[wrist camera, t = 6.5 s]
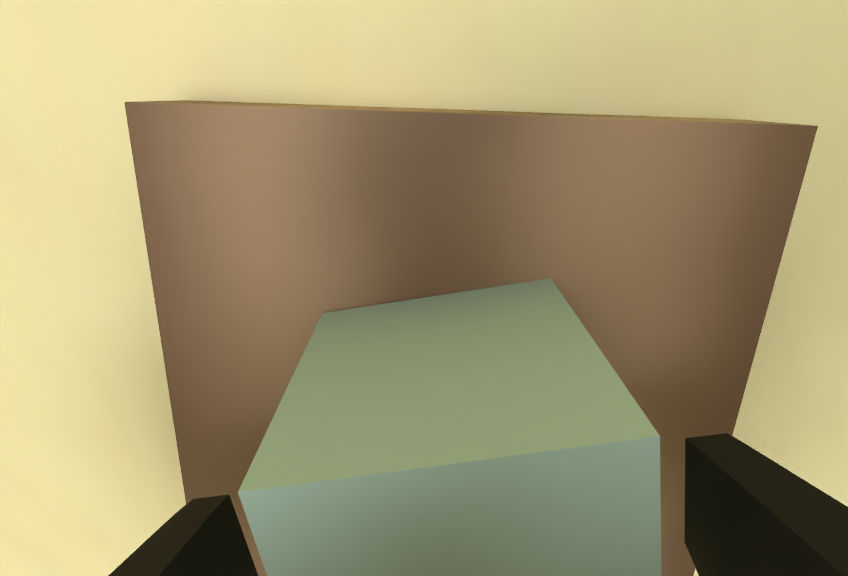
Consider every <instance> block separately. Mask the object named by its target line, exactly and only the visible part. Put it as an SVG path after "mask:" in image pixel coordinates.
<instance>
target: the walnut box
mask: <svg viewBox="0 0 848 576" xmlns="http://www.w3.org/2000/svg"><path fill="white" fill-rule="evenodd" d="M125 109H126V115H127V122H128V128H129V135H130V141H131V148H132V154H133V161H134V167H135V174H136V180H137V187H138V193H139V200H140V206H141V213H142V219H143V226H144V232H145V239H146V245H147V252H148V258H149V265H150V271H151V278H152V284H153V291H154V297H155V304H156V310H157V317H158V323H159V330H160V336H161V343H162V349H163V356H164V362H165V369H166V375H167V382H168V388H169V395H170V401H171V408H172V414H173V421H174V427H175V434H176V440H177V447H178V453H179V460H180V466H181V473H182V479H183V486H184V492H185V499H186V504H188V503H189V502H190V501H191V500H192V499H196V498H204V497H212V496H220V495H228V494H229V495H230V498H231V501H232V504H233V506H234V509H235V512H236V515H237V517H238V520H239V523H240V526H241V529H242V531H243V534H244V537H245V540H246V543H247V545H248V548H249V551H250V554H251V557H252V559H253V562H254V565H255V568H256V571H257V573H258V576H267V574H266V571H265V568H264V565H263V563H262V560H261V557H260V554H259V551H258V548H257V545H256V543H255V540H254V537H253V534H252V531H251V528H250V526H249V523H248V520H247V517H246V514H245V511H244V509H243V506H242V503H241V500H240V497H239V494H238V491H239V489H240V487H241V485H242V482H243V480H244V478H245V476H246V474H247V472H248V470H249V468H250V465H251V463H252V461H253V459H254V457H255V455H256V453H257V451H258V448H259V446H260V444H261V442H262V440H263V438H264V436H265V434H266V431H267V429H268V427H269V425H270V423H271V421H272V419H273V417H274V414H275V412H276V410H277V408H278V406H279V404H280V402H281V400H282V397H283V395H284V393H285V391H286V389H287V387H288V385H289V383H290V380H291V378H292V376H293V374H294V372H295V370H296V368H297V366H298V363H299V361H300V359H301V357H302V355H303V353H304V351H305V349H306V346H307V344H308V342H309V340H310V338H311V336H312V334H313V332H314V329H315V327H316V325H317V323H318V321H319V319H320V317H321V315H322V313H325V312H332V311H339V310H345V309H352V308H358V307H365V306H371V305H378V304H385V303H391V302H398V301H404V300H411V299H418V298H424V297H431V296H437V295H444V294H451V293H457V292H464V291H470V290H477V289H484V288H490V287H497V286H503V285H510V284H516V283H523V282H530V281H536V280H543V279H550V278H551V279H552V281H553V282H554V283H555V285H556V286H557V288H558V289H559V291H560V292H561V294H562V295H563V296H564V298H565V299H566V301H567V302H568V304H569V305H570V307H571V308H572V310H573V311H574V312H575V314H576V315H577V317H578V318H579V320H580V321H581V323H582V324H583V325H584V327H585V328H586V330H587V331H588V333H589V334H590V336H591V337H592V338H593V340H594V341H595V343H596V344H597V346H598V347H599V349H600V350H601V352H602V353H603V354H604V356H605V357H606V359H607V360H608V362H609V363H610V365H611V366H612V367H613V369H614V370H615V372H616V373H617V375H618V376H619V378H620V379H621V380H622V382H623V383H624V385H625V386H626V388H627V389H628V391H629V392H630V394H631V395H632V396H633V398H634V399H635V401H636V402H637V404H638V405H639V407H640V408H641V409H642V411H643V412H644V414H645V415H646V417H647V418H648V420H649V421H650V422H651V424H652V425H653V427H654V428H655V430H656V431H657V433H658V434H659V436H660V489H661V574H662V576H693V575H694V571H695V565H694V563H693V561H692V558H691V556H690V554H689V551H688V549H687V547H686V544H685V542H684V538H685V438H691V437H699V436H707V435H715V434H723V433H727V434H729V435H731V436H732V434H733V430H734V427H735V423H736V419H737V416H738V412H739V409H740V405H741V401H742V398H743V394H744V390H745V387H746V383H747V380H748V376H749V372H750V369H751V365H752V362H753V358H754V354H755V351H756V347H757V344H758V340H759V336H760V333H761V329H762V326H763V322H764V318H765V315H766V311H767V308H768V304H769V300H770V297H771V293H772V289H773V286H774V282H775V279H776V275H777V271H778V268H779V264H780V261H781V257H782V253H783V250H784V246H785V243H786V239H787V235H788V232H789V228H790V225H791V221H792V217H793V214H794V210H795V206H796V203H797V199H798V196H799V192H800V188H801V185H802V181H803V178H804V174H805V170H806V167H807V163H808V160H809V156H810V152H811V149H812V145H813V142H814V138H815V134H816V131H817V127H818V126H811V125H798V124H786V123H774V122H762V121H750V120H734V119H705V118H676V117H647V116H619V115H590V114H561V113H532V112H503V111H474V110H445V109H416V108H388V107H359V106H330V105H301V104H272V103H243V102H214V101H146V102H125Z"/></svg>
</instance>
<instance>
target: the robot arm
mask: <svg viewBox="0 0 848 576" xmlns="http://www.w3.org/2000/svg"><path fill="white" fill-rule="evenodd" d="M684 542H685V544H686V547H687V549H688V551H689V554H690V556H691V558H692V561H693V563H694V565H695V567H696V570H697V572H698V574H699V576H848V507H847V506H845V505H844V504H842V503H840V502H839V501H837V500H835V499H834V498H832V497H830V496H829V495H827V494H826V493H824V492H822V491H821V490H819V489H817V488H816V487H814V486H813V485H811V484H809V483H808V482H806V481H804V480H803V479H801V478H800V477H798V476H796V475H795V474H793V473H792V472H790V471H788V470H787V469H785V468H783V467H782V466H780V465H779V464H777V463H775V462H774V461H772V460H771V459H769V458H767V457H766V456H764V455H763V454H761V453H759V452H758V451H756V450H754V449H753V448H751V447H749V446H748V445H746V444H744V443H743V442H741V441H739V440H738V439H736V438H734V437H733V436H731V435H729V434H727V433H723V434H715V435H707V436H699V437H691V438H685V538H684ZM109 576H258V573H257V571H256V568H255V565H254V562H253V559H252V557H251V554H250V551H249V548H248V545H247V543H246V540H245V537H244V534H243V531H242V529H241V526H240V523H239V520H238V517H237V515H236V512H235V509H234V506H233V504H232V501H231V498H230V495H229V494H228V495H220V496H212V497H204V498H196V499H192V500H191V501H190V502H189V503H188V504H186V505H185V506H184V507H183V508H182V509H180V510H179V511H178V512H177V513H176V514H175V515H174V516H173V517H171V518H170V519H169V520H168V521H167V522H166V523H165V524H164V525H163V526H161V527H160V528H159V529H158V530H157V531H156V532H155V533H154V534H153V535H152V536H151V537H150V538H148V539H147V540H146V541H145V542H144V543H143V544H142V545H141V546H140V547H139V548H138V549H137V550H136V551H134V552H133V553H132V554H131V555H130V556H129V557H128V558H127V559H126V560H125V561H124V562H123V563H122V564H121V565H120V566H118V567H117V568H116V569H115V570H114V571H113V572H112V573H111V574H110V575H109Z"/></svg>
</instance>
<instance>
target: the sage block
mask: <svg viewBox="0 0 848 576" xmlns="http://www.w3.org/2000/svg"><path fill="white" fill-rule="evenodd" d="M238 494H239V497H240V500H241V503H242V506H243V509H244V511H245V514H246V517H247V520H248V523H249V526H250V528H251V531H252V534H253V537H254V540H255V543H256V545H257V548H258V551H259V554H260V557H261V560H262V563H263V565H264V568H265V571H266V574H267V576H662V574H661V489H660V436H659V434H658V433H657V431H656V430H655V428H654V427H653V425H652V424H651V422H650V421H649V420H648V418H647V417H646V415H645V414H644V412H643V411H642V409H641V408H640V407H639V405H638V404H637V402H636V401H635V399H634V398H633V396H632V395H631V394H630V392H629V391H628V389H627V388H626V386H625V385H624V383H623V382H622V380H621V379H620V378H619V376H618V375H617V373H616V372H615V370H614V369H613V367H612V366H611V365H610V363H609V362H608V360H607V359H606V357H605V356H604V354H603V353H602V352H601V350H600V349H599V347H598V346H597V344H596V343H595V341H594V340H593V338H592V337H591V336H590V334H589V333H588V331H587V330H586V328H585V327H584V325H583V324H582V323H581V321H580V320H579V318H578V317H577V315H576V314H575V312H574V311H573V310H572V308H571V307H570V305H569V304H568V302H567V301H566V299H565V298H564V296H563V295H562V294H561V292H560V291H559V289H558V288H557V286H556V285H555V283H554V282H553V281H552V279H551V278H550V279H543V280H536V281H530V282H523V283H516V284H510V285H503V286H497V287H490V288H484V289H477V290H470V291H464V292H457V293H451V294H444V295H437V296H431V297H424V298H418V299H411V300H404V301H398V302H391V303H385V304H378V305H371V306H365V307H358V308H352V309H345V310H339V311H332V312H325V313H322V315H321V317H320V319H319V321H318V323H317V325H316V327H315V329H314V332H313V334H312V336H311V338H310V340H309V342H308V344H307V346H306V349H305V351H304V353H303V355H302V357H301V359H300V361H299V363H298V366H297V368H296V370H295V372H294V374H293V376H292V378H291V380H290V383H289V385H288V387H287V389H286V391H285V393H284V395H283V397H282V400H281V402H280V404H279V406H278V408H277V410H276V412H275V414H274V417H273V419H272V421H271V423H270V425H269V427H268V429H267V431H266V434H265V436H264V438H263V440H262V442H261V444H260V446H259V448H258V451H257V453H256V455H255V457H254V459H253V461H252V463H251V465H250V468H249V470H248V472H247V474H246V476H245V478H244V480H243V482H242V485H241V487H240V489H239V491H238Z"/></svg>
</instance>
